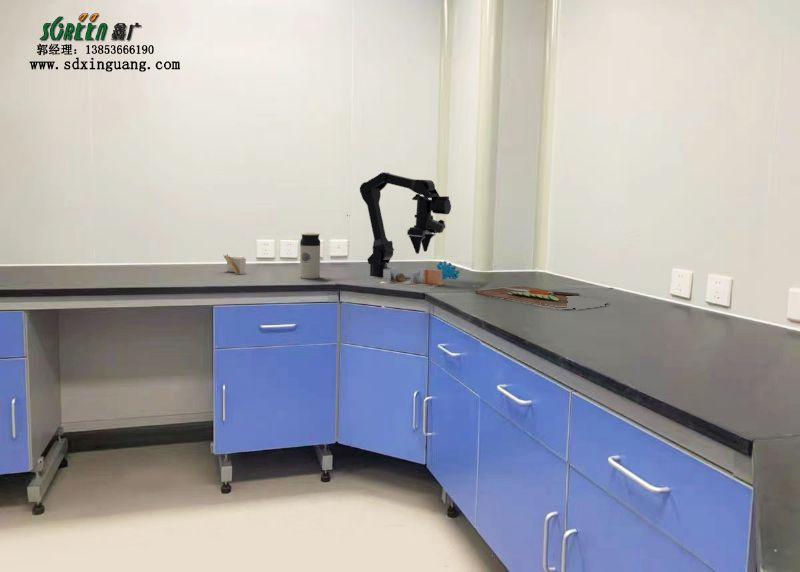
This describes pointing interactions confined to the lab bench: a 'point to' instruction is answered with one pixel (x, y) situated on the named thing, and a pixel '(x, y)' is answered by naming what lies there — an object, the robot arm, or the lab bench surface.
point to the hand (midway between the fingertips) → (421, 252)
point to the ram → (427, 277)
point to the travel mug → (310, 256)
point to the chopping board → (529, 295)
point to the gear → (448, 270)
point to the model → (236, 264)
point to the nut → (400, 277)
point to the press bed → (407, 282)
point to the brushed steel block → (390, 274)
